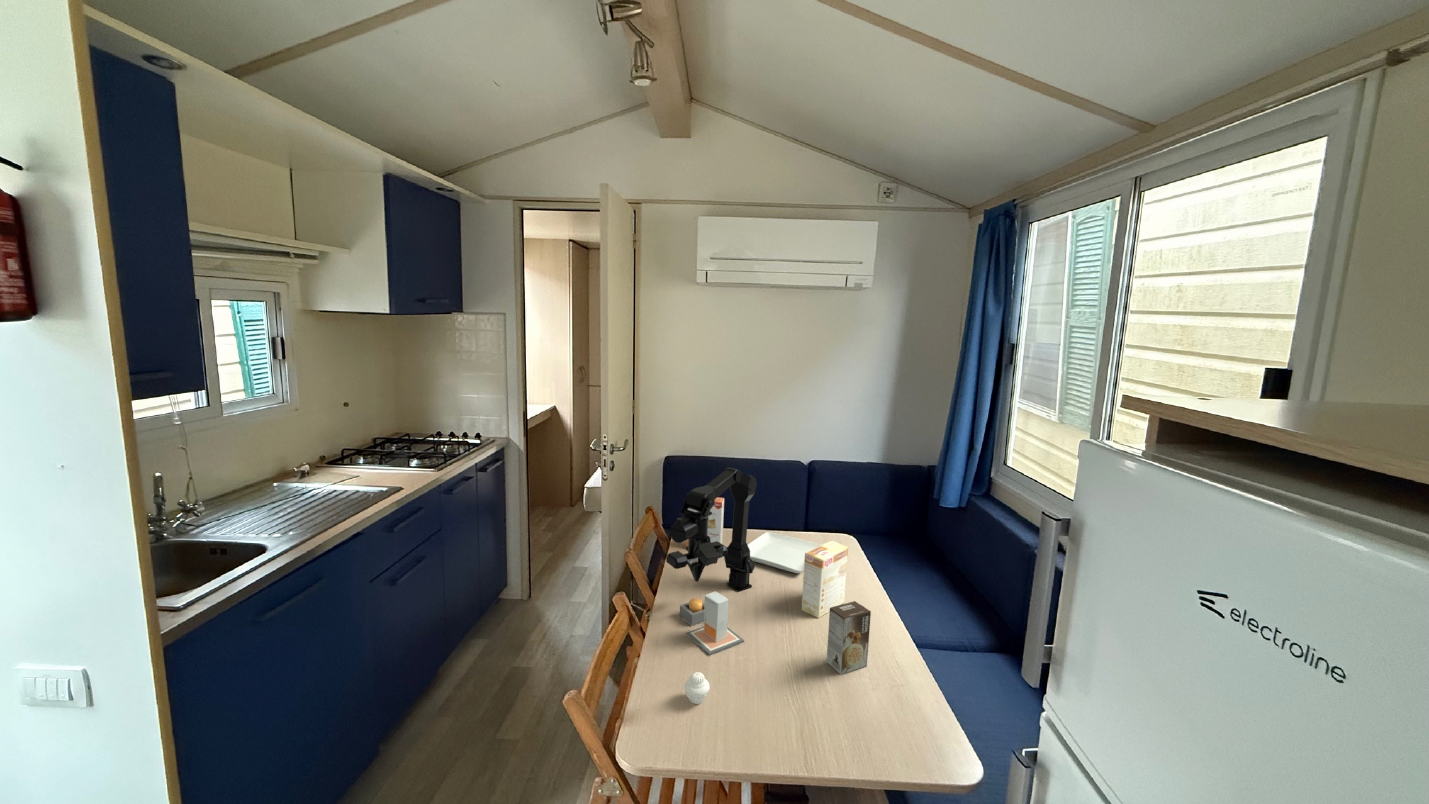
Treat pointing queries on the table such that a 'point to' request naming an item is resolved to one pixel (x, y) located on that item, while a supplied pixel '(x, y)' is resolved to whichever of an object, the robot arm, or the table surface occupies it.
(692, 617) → the button housing
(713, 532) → the cracker box
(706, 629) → the skincare box
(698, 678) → the white lidded jar
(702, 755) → the table surface
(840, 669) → the coffee box
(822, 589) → the coffeecake box
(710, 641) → the picture board
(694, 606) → the button
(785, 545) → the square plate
